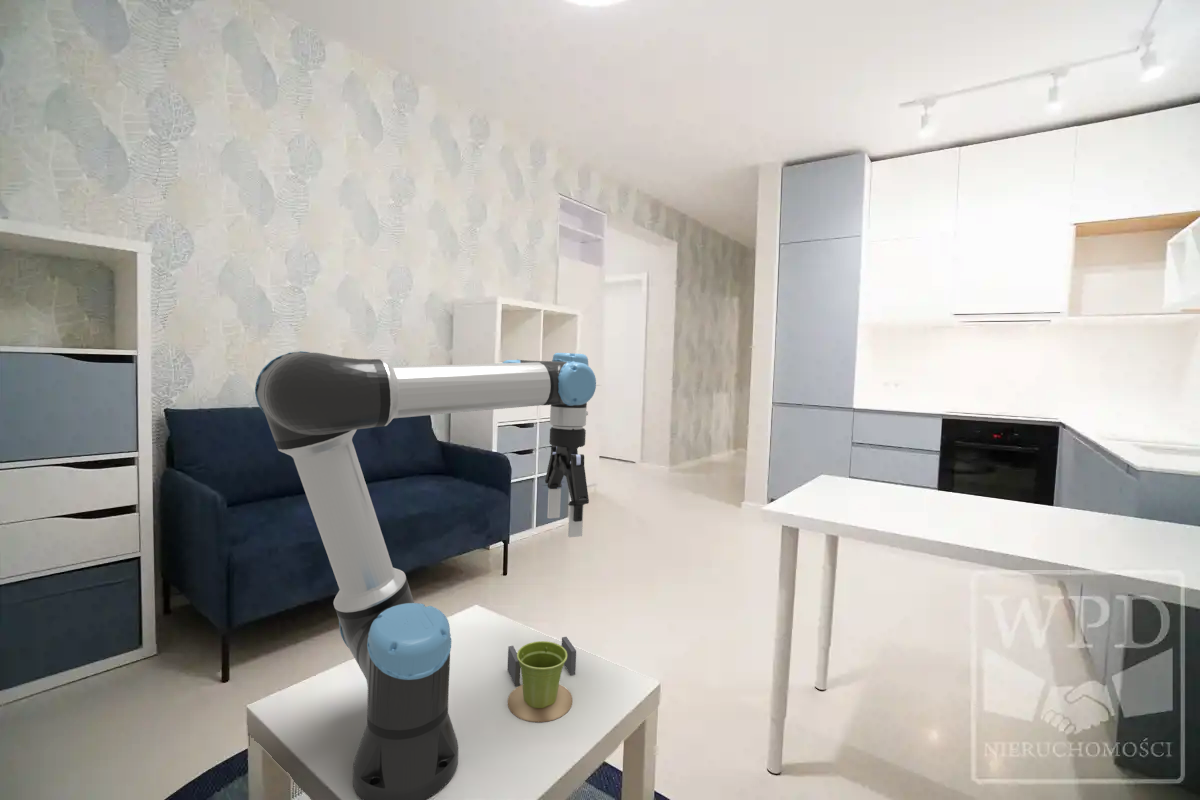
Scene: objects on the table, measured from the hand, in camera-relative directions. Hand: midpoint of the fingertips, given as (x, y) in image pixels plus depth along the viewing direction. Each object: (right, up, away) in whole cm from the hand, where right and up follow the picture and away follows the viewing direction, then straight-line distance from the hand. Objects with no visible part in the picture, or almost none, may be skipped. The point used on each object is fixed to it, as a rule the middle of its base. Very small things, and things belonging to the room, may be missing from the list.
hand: (563, 526), depth 113 cm
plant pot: (-3, -29, -13) cm, 32 cm away
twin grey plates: (-4, -29, -4) cm, 29 cm away
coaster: (-3, -29, -13) cm, 33 cm away
